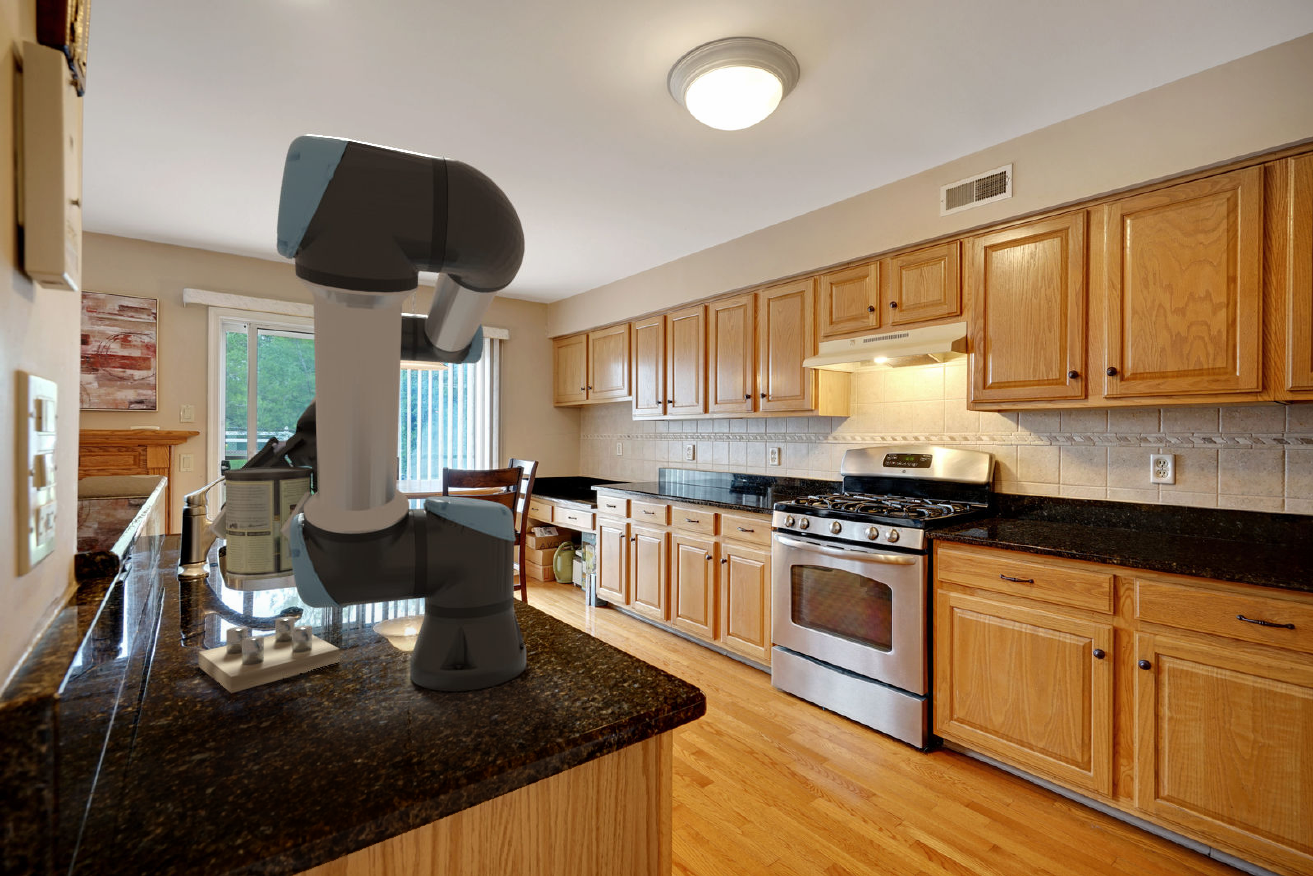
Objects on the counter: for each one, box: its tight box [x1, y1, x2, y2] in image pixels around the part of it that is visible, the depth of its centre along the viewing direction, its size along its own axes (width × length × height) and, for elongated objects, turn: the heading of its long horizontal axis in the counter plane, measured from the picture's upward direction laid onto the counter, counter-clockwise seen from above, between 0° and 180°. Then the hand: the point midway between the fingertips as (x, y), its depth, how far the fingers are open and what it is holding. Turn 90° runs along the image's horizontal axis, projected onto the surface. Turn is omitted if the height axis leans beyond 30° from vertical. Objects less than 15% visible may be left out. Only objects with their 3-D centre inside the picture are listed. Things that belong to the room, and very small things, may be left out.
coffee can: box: [223, 466, 313, 581], centre depth 86 cm, size 10×10×14 cm
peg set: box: [225, 616, 313, 665], centre depth 86 cm, size 8×8×3 cm
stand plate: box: [198, 634, 341, 694], centre depth 86 cm, size 13×13×2 cm
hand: (252, 535), depth 83 cm, fingers closed on coffee can, 10 cm apart
